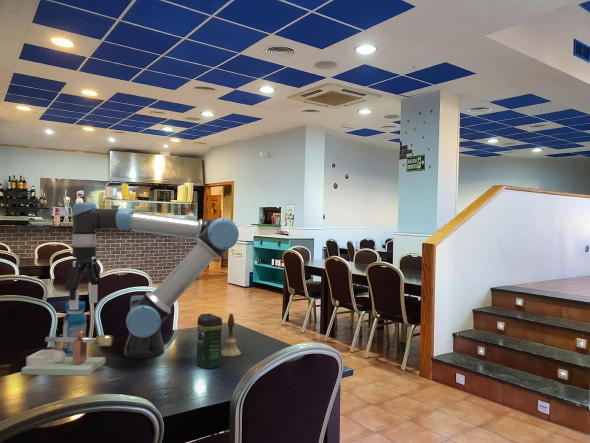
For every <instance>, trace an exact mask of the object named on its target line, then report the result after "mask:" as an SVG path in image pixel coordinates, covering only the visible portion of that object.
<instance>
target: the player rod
mask: <svg viewBox="0 0 590 443" xmlns="http://www.w3.org/2000/svg"><path fill="white" fill-rule="evenodd" d="M76 336H77V337H78V338H72V337H63V336H61V337H60V336H45V339H44V342H46V343H63V342H74V345H73V356H72V357H73V364H80V363H82V362H83V361H85V360H86V359H87V357H88V344H89V343H94V344H95V346H97V347H100V346H101V347H112V346H113V345H114V342H115V337H114V335H112V334H111V335H110V334H107V335H106V334H104V335H103V334H97V336H96V337H88V336H86V337H84V336H85V332H84V331H83V330H80V331H78V332H77V334H76Z"/></svg>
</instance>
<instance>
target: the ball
mask: <svg viewBox="0 0 590 443" xmlns="http://www.w3.org/2000/svg"><path fill="white" fill-rule="evenodd" d="M66 357H67V356H66V354H65V352H63V351H62V350H59V351H57V352H56V353H55V354H54V355H53V360H54V361H55V362H57V363H60V362H63V361H64V360H65V358H66Z"/></svg>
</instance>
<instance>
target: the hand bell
mask: <svg viewBox="0 0 590 443" xmlns="http://www.w3.org/2000/svg"><path fill="white" fill-rule="evenodd" d="M234 326H235V317H234V314H233V313H229V316H228V319H227V327H228V338H227V339H225V341H224V346H223V349H221V357H222V356H223V357H227V356H228V357H229V358H230V357H231V356H232V357H237V356H240V355H241V354H242V352H241V350H239V348H238V344H237V340H236V339H235V338H234Z"/></svg>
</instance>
